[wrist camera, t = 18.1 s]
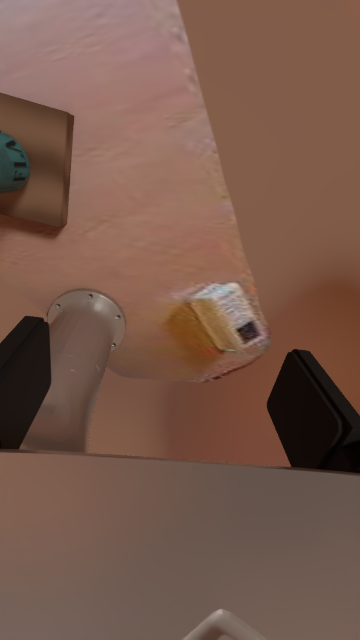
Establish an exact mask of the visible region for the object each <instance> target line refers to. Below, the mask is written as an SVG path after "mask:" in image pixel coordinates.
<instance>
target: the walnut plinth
mask: <svg viewBox="0 0 360 640" xmlns="http://www.w3.org/2000/svg"><path fill="white" fill-rule="evenodd" d="M73 125H74V116H73V115H71V114H69V113H68V112H65V111H61V110H58V109H54V108H51V107H48V106H44V105H41V104H37V103H34V102H30V101H27V100H24V99H20V98H17V97H13V96H10V95H7V94H3V93H0V131H1V130H3V131H4V133H5V132H6V134H8V133H9V134H8V135H10V136H11V135H12V137H13V138H14V139H15V140H16V141H17V142H18V143H19V144H20V145H22V147H23V148H24V150H25V152H26V154H27V156H28V159H29V162H30V176H29V178H28V180H27V181H28V182H26V183H25V184H26V185H25V184H24V185H23V187H21V188H20V189H21V190H20V189H19V190H16V191H14V192H13V191H12V192H13V193H11V192H10V193H9V192H4V193H1V194H0V214H4V215H8V216H12V217H17V218H21V219H25V220H30V221H34V222H38V223H43V224H47V225H51V226H56V227H60V228H61V227H62V226H64V225H66V224H67V216H68V201H69V186H70V170H71V155H72V140H73ZM3 131H1V132H3Z"/></svg>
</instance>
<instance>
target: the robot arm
mask: <svg viewBox="0 0 360 640" xmlns="http://www.w3.org/2000/svg"><path fill="white" fill-rule="evenodd" d="M90 294H92V296H91V295H90ZM59 304H60V305H59ZM118 315H119V316H118ZM125 330H126V321H125V317H124V314H123V312H122V310H121V308H120V307H119V306H118V304H117V303H116V302H115V301H114V300H112V299H111V298H110V297H108V296H107V295H105V294H103V293H101V292H98V291H95V290H91V289H76V290H72V291H68V292H66V293H64V294H62V295H61V296H60V297H58V298H57V299H56V300H55V301H54V303H53V304H52V306H51V307H50V309H49V312H48V316H47V322H44V319H43V318H40V317H33V316H25V317H24V318H23V319H22V320H21V321H20V322H19V323H18V324H17V326H16V327H15V328H14V329H13V330H12V331H11V332H10V333H9V334H8V335H7V336H6V338H5V339H4V340H3V341H2V342H1V343H0V640H360V416H359V414H358V413H357V412H356V410H355V409H354V408H353V407H352V405H351V404H350V403H349V401H348V400H347V399H346V398H345V397H344V395H343V394H342V392H341V391H340V390H339V389H338V387H337V386H336V385H335V383H334V382H333V381H332V380H331V378H330V377H329V376H328V374H327V373H326V372H325V370H324V369H323V368H322V367H321V365H320V364H319V363H318V361H317V360H316V359H315V358H314V356H313V355H312V354H311V352H309V351H306V350H298V349H294V350H292V352H289V353H288V354H287V356H286V358H285V360H284V363H283V365H282V367H281V370H280V372H279V375H278V377H277V380H276V382H275V384H274V386H273V389H272V391H271V394H270V396H269V398H268V401H267V409H268V412H269V414H270V417H271V419H272V422H273V424H274V426H275V429H276V431H277V433H278V436H279V438H280V440H281V443H282V445H283V448H284V450H285V453H286V454H287V457H288V460H289V462H290V464H291V467H282V466H269V465H256V464H243V463H229V462H214V461H201V460H186V459H172V458H156V457H143V456H127V455H112V454H96V453H89V436H90V427H91V421H92V416H93V412H94V408H95V404H96V400H97V397H98V393H99V389H100V386H101V382H102V379H103V375H104V372H105V368H106V364H107V361H108V357H109V354H110V353H111V352H112V351H114V350H115V349H116V348H117V347H118V346H119V345H120V344H121V342H122V340H123V338H124V335H125Z"/></svg>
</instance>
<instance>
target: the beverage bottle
mask: <svg viewBox="0 0 360 640" xmlns="http://www.w3.org/2000/svg"><path fill="white" fill-rule="evenodd" d="M1 131H3V130H1ZM1 131H0V194H1V193H4V192H9V193H10V192H11V193H13V192H14V191H16V190H19V189H20V188H21V187H23V185H24V184H25V183H26V182H28V181H27V180H28V178H29V176H30V162H29V159H28V156H27V154H26V152H25V150H24V148H23V147H22V145H20V144H19V143H18V142H17V141H16V140H15V139H14V138H13V137H12V135H11V136H10V135H8V134H9V133H8V134H6V132H5V133H4V131H3V132H1ZM25 185H26V184H25ZM20 190H21V189H20ZM12 191H13V192H12Z"/></svg>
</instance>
